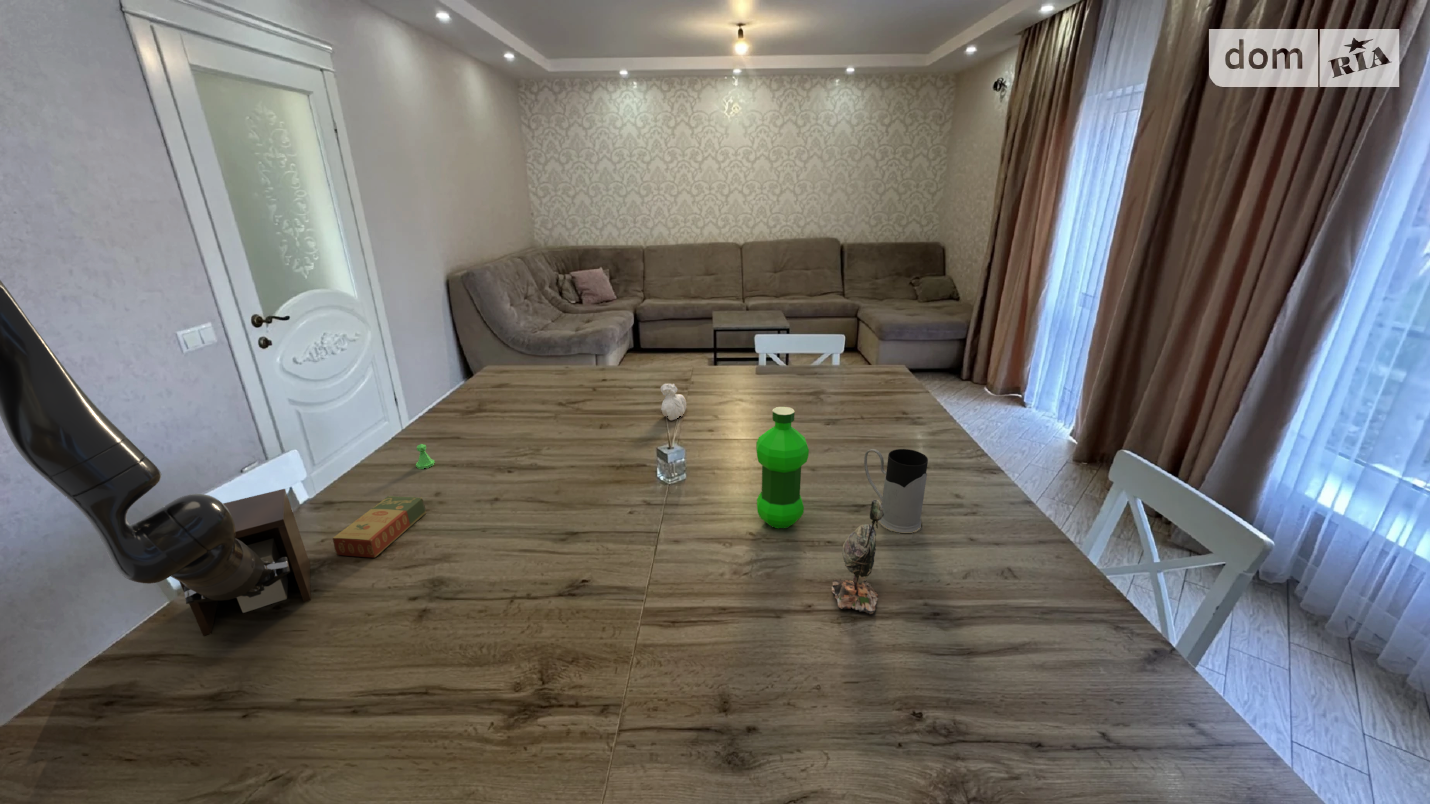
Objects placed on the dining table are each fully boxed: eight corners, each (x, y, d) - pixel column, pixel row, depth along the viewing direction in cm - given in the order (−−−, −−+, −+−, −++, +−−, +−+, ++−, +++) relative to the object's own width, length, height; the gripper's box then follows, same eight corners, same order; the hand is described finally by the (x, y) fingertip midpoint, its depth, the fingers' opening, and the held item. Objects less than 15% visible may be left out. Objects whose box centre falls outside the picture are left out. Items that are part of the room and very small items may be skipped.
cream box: (242, 613, 91) (224, 568, 88) (246, 593, 96) (229, 549, 93) (287, 598, 94) (271, 555, 91) (288, 580, 99) (273, 537, 96)
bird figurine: (883, 578, 98) (895, 479, 91) (874, 621, 88) (887, 514, 81) (837, 567, 101) (845, 470, 94) (823, 608, 91) (832, 503, 84)
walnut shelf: (203, 636, 86) (165, 550, 81) (212, 593, 96) (179, 513, 90) (310, 600, 94) (283, 519, 88) (310, 564, 103) (285, 488, 97)
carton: (336, 556, 105) (330, 537, 104) (391, 511, 120) (387, 493, 119) (376, 558, 104) (370, 539, 103) (427, 512, 119) (423, 495, 118)
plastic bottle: (799, 539, 109) (806, 423, 100) (748, 530, 112) (750, 417, 103) (808, 513, 118) (815, 404, 109) (760, 505, 121) (763, 399, 112)
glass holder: (906, 539, 109) (915, 471, 103) (848, 509, 119) (853, 447, 114) (930, 523, 114) (940, 458, 108) (872, 496, 124) (879, 435, 119)
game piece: (427, 469, 138) (423, 448, 136) (412, 468, 138) (407, 447, 136) (438, 462, 142) (434, 440, 140) (423, 460, 142) (418, 439, 140)
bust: (681, 415, 175) (661, 386, 175) (698, 404, 171) (677, 374, 171) (663, 429, 165) (642, 398, 165) (680, 418, 161) (658, 386, 161)
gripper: (274, 526, 81) (299, 554, 95) (153, 559, 74) (198, 583, 88) (284, 574, 79) (307, 595, 93) (159, 613, 72) (205, 629, 86)
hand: (254, 590), depth 91 cm, fingers closed
